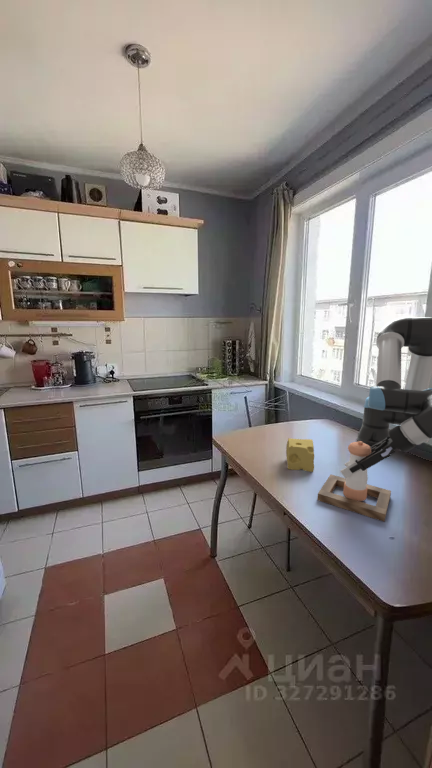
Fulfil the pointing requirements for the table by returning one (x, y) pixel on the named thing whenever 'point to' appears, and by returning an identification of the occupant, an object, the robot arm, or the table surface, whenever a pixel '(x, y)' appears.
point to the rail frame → (354, 505)
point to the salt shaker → (357, 473)
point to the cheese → (300, 454)
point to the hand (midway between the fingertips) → (345, 470)
